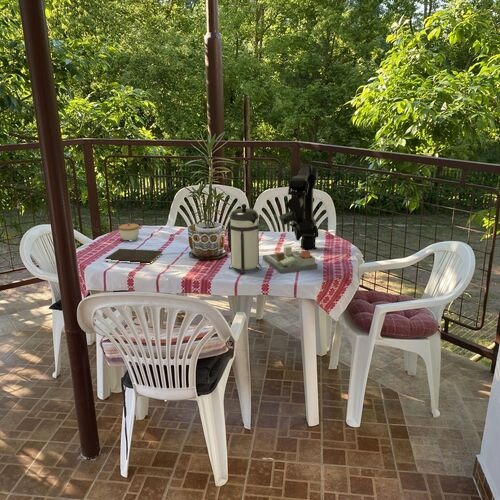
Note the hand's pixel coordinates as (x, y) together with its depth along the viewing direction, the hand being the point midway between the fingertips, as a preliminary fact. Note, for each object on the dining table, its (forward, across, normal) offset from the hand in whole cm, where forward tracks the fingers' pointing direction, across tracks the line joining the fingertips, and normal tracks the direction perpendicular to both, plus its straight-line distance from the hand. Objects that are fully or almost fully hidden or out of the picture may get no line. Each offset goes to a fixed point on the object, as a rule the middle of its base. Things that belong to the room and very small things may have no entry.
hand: (297, 240), depth 233 cm
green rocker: (+8, +4, -6) cm, 11 cm away
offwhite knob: (+10, -11, -1) cm, 15 cm away
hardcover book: (+13, -38, -69) cm, 80 cm away
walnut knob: (+10, -3, -7) cm, 13 cm away
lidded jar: (+12, -71, -68) cm, 99 cm away
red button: (+9, +3, +3) cm, 9 cm away
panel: (+12, -4, -2) cm, 13 cm away
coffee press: (+12, -5, -24) cm, 28 cm away
